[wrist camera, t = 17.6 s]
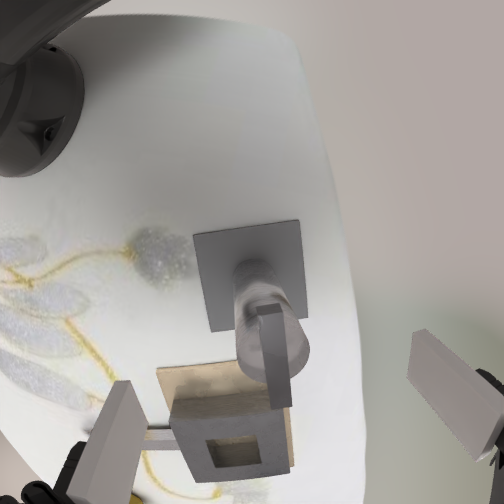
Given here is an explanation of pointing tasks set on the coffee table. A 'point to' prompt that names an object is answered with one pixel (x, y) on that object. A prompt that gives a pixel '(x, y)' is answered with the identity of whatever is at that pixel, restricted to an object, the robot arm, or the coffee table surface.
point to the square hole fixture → (222, 424)
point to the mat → (241, 249)
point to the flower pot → (135, 500)
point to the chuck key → (267, 331)
